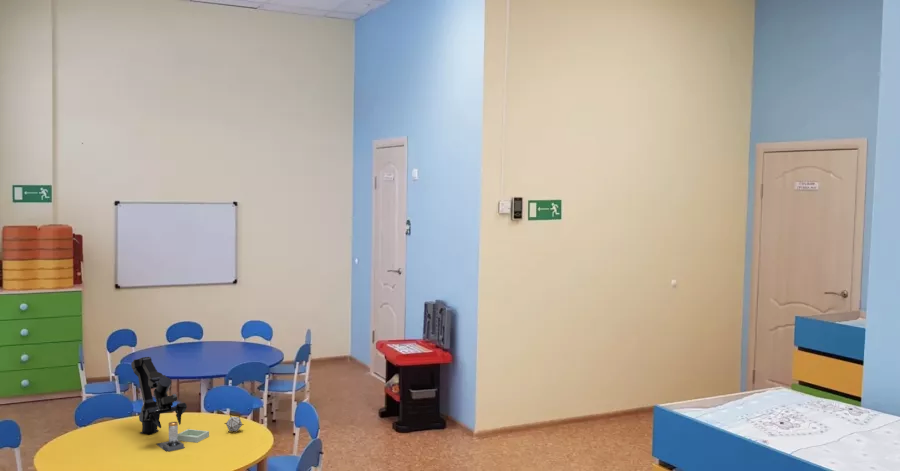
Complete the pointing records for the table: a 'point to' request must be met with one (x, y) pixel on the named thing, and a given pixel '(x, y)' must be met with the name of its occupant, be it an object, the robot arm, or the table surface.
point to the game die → (234, 423)
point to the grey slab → (168, 448)
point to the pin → (173, 433)
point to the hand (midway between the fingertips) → (170, 426)
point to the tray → (192, 435)
